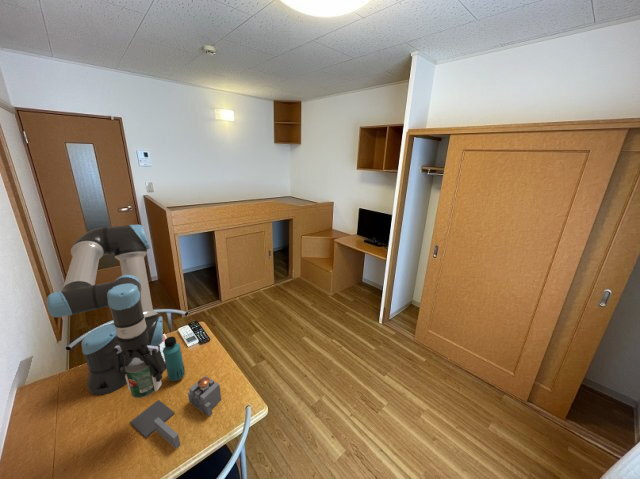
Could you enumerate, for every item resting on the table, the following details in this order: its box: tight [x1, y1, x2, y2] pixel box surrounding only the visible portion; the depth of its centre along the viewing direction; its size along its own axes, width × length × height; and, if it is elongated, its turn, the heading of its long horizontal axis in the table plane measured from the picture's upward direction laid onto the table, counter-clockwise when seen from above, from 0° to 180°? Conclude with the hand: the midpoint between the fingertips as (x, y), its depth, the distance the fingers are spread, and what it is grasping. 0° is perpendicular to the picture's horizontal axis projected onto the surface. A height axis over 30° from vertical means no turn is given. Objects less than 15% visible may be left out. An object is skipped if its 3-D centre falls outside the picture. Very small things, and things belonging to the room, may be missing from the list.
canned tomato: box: [125, 355, 156, 399], centre depth 86 cm, size 8×8×11 cm
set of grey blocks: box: [154, 375, 222, 450], centre depth 93 cm, size 11×20×8 cm, turn 151°
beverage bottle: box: [162, 336, 186, 382], centre depth 106 cm, size 6×7×20 cm
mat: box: [129, 399, 176, 439], centre depth 92 cm, size 10×10×1 cm
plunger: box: [197, 376, 211, 394], centre depth 97 cm, size 4×4×7 cm
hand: (145, 387), depth 88 cm, fingers closed on canned tomato, 8 cm apart
